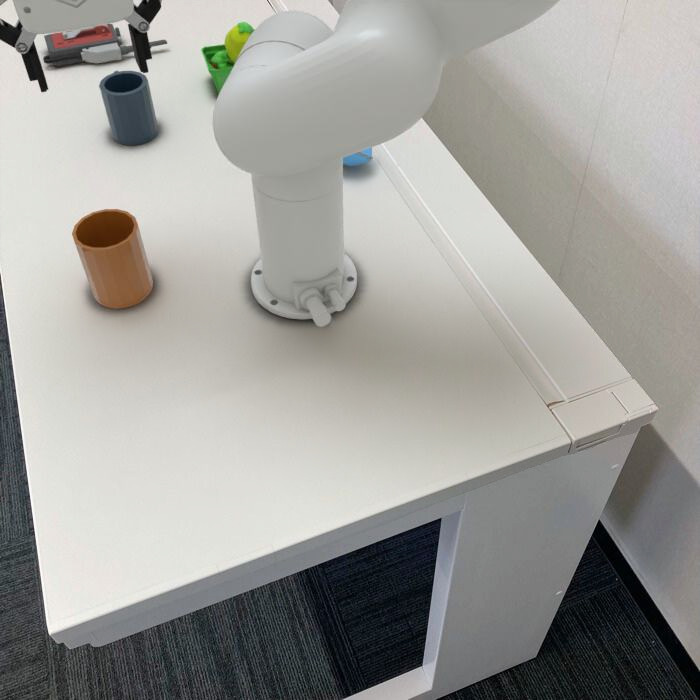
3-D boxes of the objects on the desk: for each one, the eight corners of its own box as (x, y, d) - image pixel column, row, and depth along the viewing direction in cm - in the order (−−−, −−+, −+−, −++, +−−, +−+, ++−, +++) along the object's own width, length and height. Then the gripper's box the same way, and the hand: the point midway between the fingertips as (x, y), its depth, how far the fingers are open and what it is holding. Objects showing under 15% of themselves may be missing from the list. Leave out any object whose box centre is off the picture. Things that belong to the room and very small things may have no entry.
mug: (163, 139, 112) (152, 88, 106) (118, 149, 111) (104, 99, 105) (147, 107, 118) (136, 57, 112) (104, 116, 116) (90, 67, 110)
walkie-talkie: (48, 76, 124) (170, 52, 129) (39, 49, 121) (165, 27, 126) (41, 51, 130) (158, 29, 135) (33, 25, 127) (153, 4, 131)
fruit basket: (274, 66, 126) (268, -3, 118) (286, 94, 120) (281, 23, 112) (204, 77, 124) (193, 7, 115) (214, 105, 118) (203, 34, 110)
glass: (159, 298, 90) (143, 239, 84) (99, 315, 89) (79, 256, 82) (145, 261, 95) (129, 202, 88) (88, 277, 93) (67, 218, 86)
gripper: (-69, -89, 59) (6, 112, 71) (157, -117, 63) (189, 77, 76) (-72, -121, 63) (-2, 74, 76) (138, -145, 67) (171, 43, 80)
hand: (93, 75), depth 76 cm, fingers open, 9 cm apart
